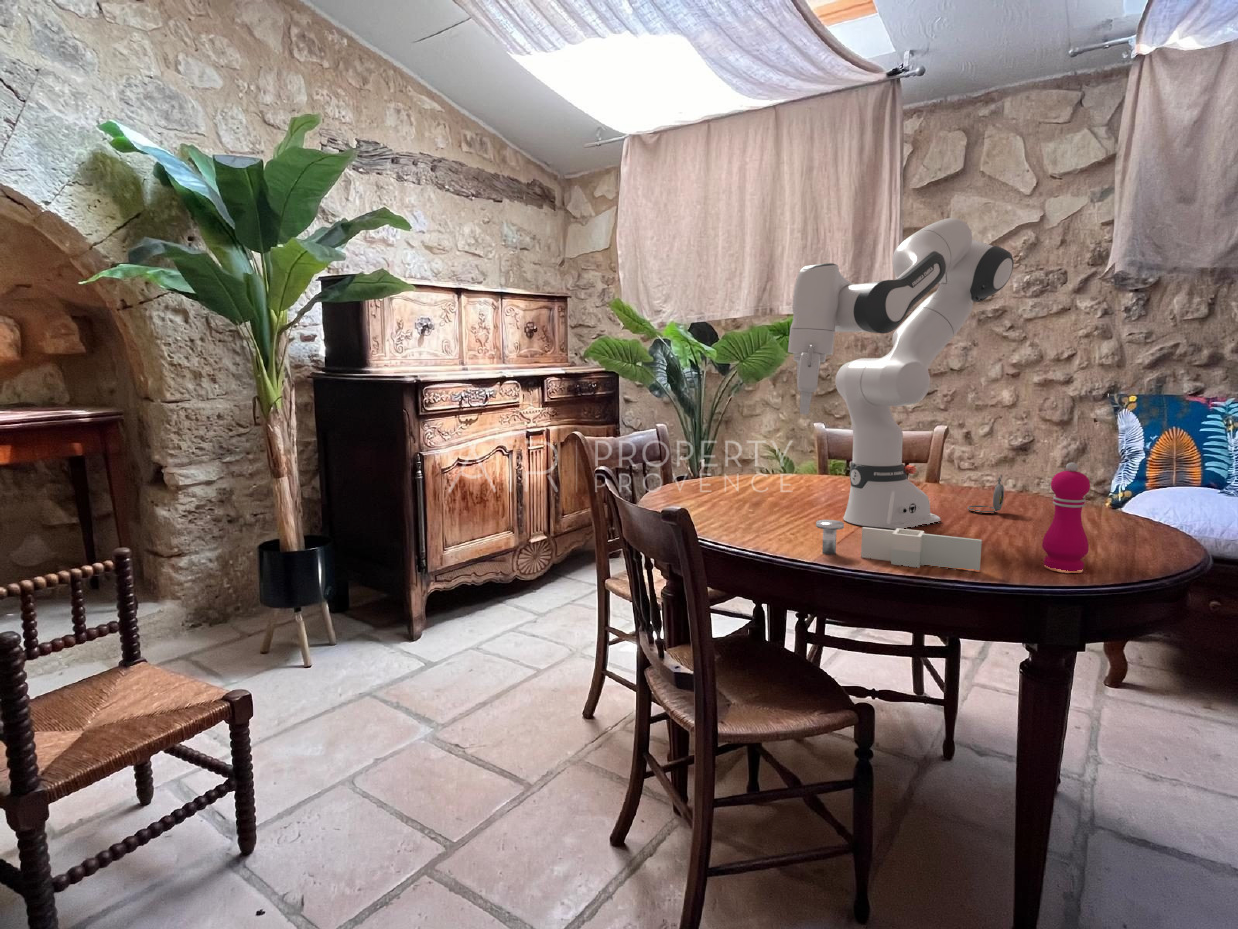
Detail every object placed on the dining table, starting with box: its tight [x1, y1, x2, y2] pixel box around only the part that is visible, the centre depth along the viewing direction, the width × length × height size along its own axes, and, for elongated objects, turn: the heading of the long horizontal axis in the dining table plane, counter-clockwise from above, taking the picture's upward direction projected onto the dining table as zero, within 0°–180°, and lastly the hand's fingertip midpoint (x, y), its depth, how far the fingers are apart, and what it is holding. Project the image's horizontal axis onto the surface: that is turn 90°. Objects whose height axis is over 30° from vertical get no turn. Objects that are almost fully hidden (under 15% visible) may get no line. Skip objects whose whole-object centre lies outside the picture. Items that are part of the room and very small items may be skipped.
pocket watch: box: [967, 474, 1005, 512], centre depth 175 cm, size 8×8×10 cm
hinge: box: [860, 526, 983, 571], centre depth 133 cm, size 21×5×6 cm, turn 59°
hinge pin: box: [815, 519, 845, 556], centre depth 142 cm, size 5×5×6 cm
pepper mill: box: [1041, 462, 1091, 571], centre depth 128 cm, size 7×7×20 cm
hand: (803, 413), depth 143 cm, fingers open, 8 cm apart
